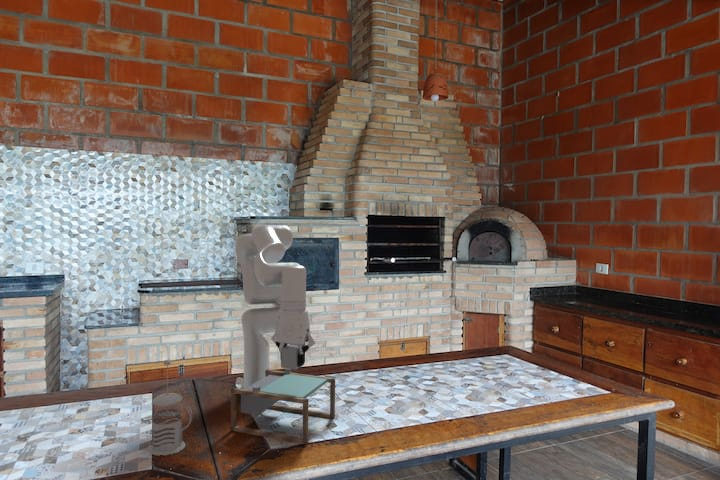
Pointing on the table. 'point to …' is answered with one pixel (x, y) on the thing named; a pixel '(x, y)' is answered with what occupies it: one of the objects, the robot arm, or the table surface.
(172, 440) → the french press
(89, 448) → the table surface
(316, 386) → the hatch door
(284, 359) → the smooth gray block
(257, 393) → the stand
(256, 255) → the robot arm
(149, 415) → the table surface
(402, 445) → the table surface
